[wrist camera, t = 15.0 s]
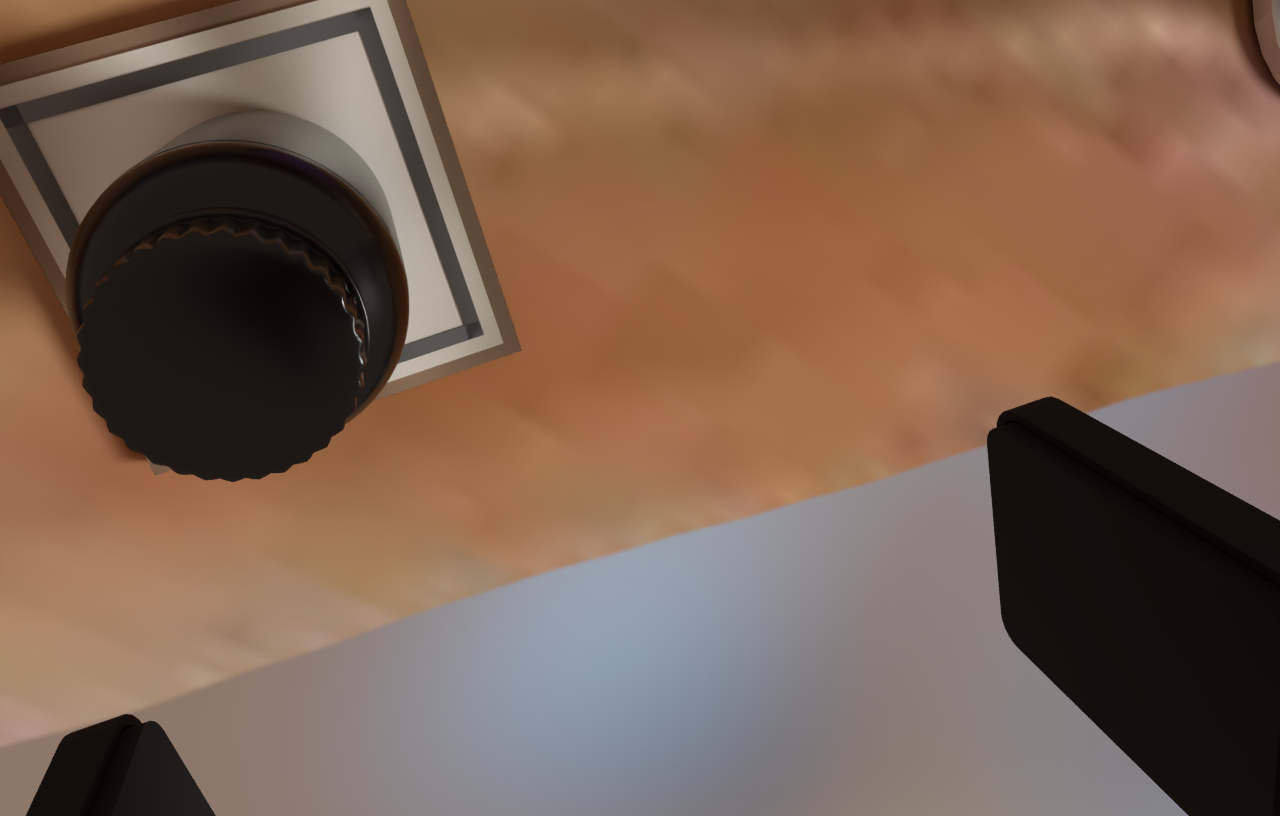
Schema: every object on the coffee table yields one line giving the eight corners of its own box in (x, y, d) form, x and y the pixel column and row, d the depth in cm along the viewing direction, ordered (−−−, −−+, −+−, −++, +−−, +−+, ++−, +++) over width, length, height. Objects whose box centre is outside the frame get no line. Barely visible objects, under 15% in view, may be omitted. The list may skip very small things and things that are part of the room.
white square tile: (391, -38, 26) (392, -42, 25) (517, 341, 32) (522, 352, 30) (-48, 79, 25) (-67, 81, 24) (161, 462, 30) (153, 478, 29)
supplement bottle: (91, 246, 26) (-94, 393, 15) (241, 54, 25) (158, 65, 14) (303, 386, 29) (274, 590, 18) (442, 218, 28) (497, 327, 17)
